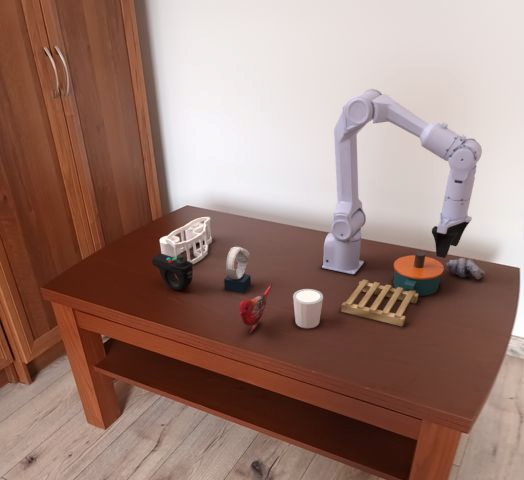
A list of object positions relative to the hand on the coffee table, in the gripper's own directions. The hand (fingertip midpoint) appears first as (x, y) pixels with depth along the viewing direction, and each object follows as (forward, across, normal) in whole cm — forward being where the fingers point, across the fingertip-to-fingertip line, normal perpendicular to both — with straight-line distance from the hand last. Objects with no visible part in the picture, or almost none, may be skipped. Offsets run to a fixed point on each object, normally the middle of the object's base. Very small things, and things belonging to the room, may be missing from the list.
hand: (446, 250), depth 129 cm
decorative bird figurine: (+10, -40, +28) cm, 50 cm away
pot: (+10, -2, +6) cm, 12 cm away
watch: (+10, -29, +43) cm, 53 cm away
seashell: (+10, +9, -3) cm, 14 cm away
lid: (+5, -2, +6) cm, 8 cm away
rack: (+10, -17, +8) cm, 21 cm away
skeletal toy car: (+10, -20, +68) cm, 71 cm away
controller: (+10, -38, +57) cm, 69 cm away
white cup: (+10, -33, +19) cm, 39 cm away
